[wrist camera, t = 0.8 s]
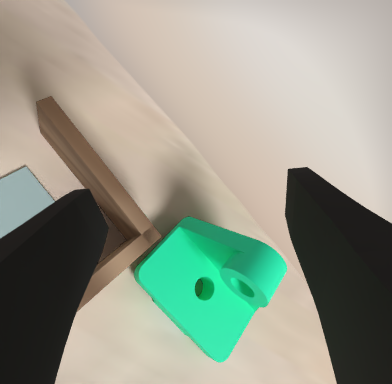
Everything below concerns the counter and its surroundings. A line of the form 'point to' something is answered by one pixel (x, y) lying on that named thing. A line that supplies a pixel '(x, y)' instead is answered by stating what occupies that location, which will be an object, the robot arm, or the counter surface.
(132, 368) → the counter surface
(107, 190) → the corner walls
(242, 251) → the camera mount
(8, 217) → the pad
